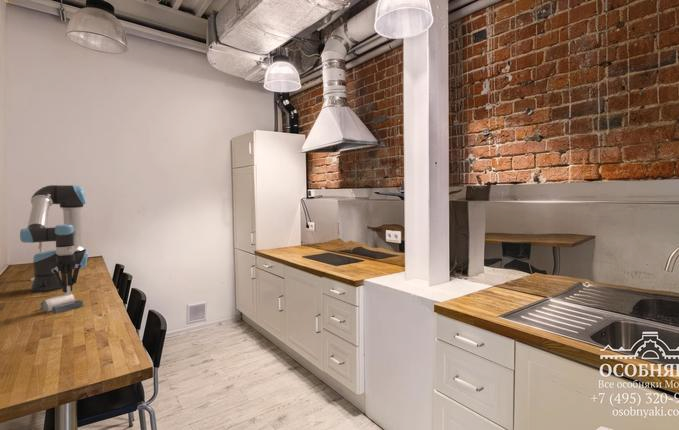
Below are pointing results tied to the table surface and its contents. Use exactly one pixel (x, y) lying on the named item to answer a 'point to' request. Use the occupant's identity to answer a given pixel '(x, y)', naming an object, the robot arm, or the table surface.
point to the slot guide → (66, 306)
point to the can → (56, 301)
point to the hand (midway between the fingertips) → (67, 297)
